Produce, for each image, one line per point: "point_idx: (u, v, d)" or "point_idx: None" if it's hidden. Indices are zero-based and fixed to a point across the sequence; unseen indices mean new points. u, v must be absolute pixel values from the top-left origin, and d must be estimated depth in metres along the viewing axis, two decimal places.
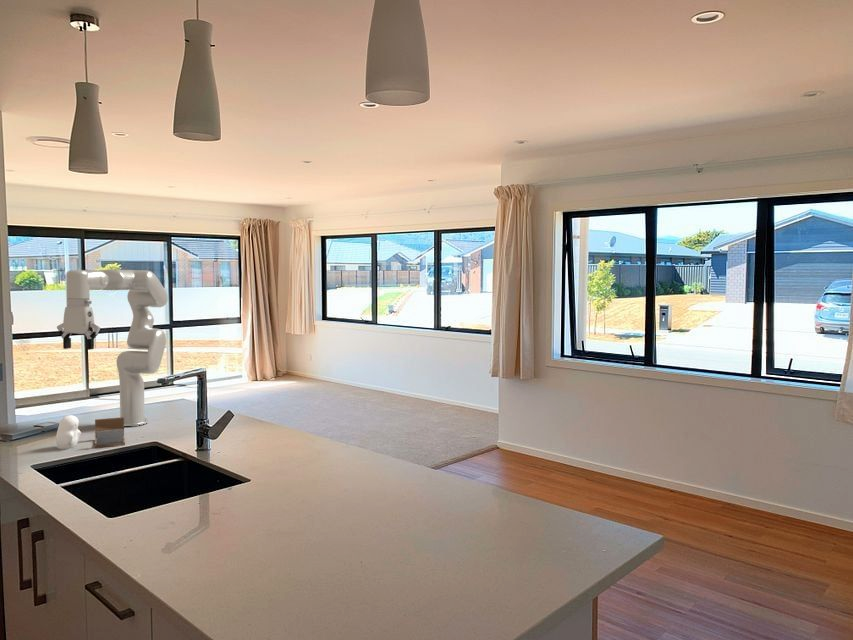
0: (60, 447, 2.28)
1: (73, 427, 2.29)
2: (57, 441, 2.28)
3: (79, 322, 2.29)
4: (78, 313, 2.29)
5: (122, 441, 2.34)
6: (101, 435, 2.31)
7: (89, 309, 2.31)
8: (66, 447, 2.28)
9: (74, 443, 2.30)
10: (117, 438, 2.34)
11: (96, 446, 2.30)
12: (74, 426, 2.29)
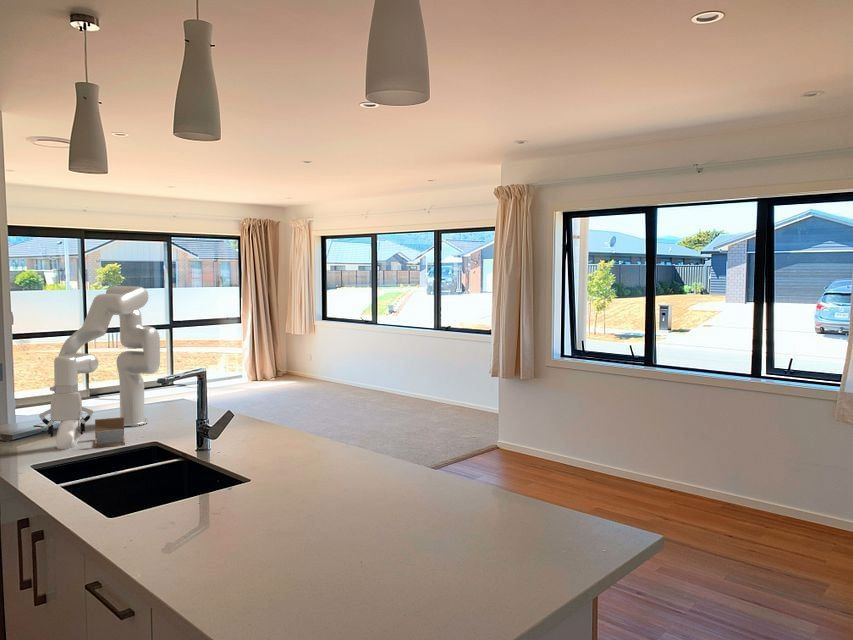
0: (60, 447, 2.28)
1: (73, 427, 2.29)
2: (57, 441, 2.28)
3: None
4: None
5: (122, 441, 2.34)
6: (101, 435, 2.31)
7: None
8: (66, 447, 2.28)
9: (74, 443, 2.30)
10: (117, 438, 2.34)
11: (96, 446, 2.30)
12: (74, 426, 2.29)
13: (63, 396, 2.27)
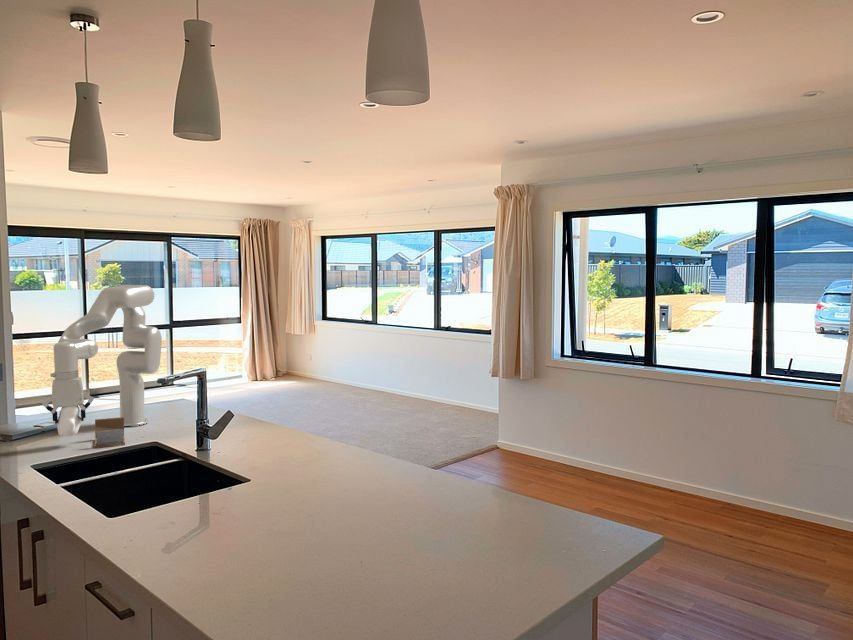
0: (62, 434, 2.29)
1: (74, 415, 2.30)
2: (58, 428, 2.29)
3: None
4: None
5: (122, 441, 2.34)
6: (101, 435, 2.31)
7: None
8: (68, 434, 2.29)
9: (75, 430, 2.31)
10: (117, 438, 2.34)
11: (96, 446, 2.30)
12: (75, 413, 2.30)
13: (64, 382, 2.27)
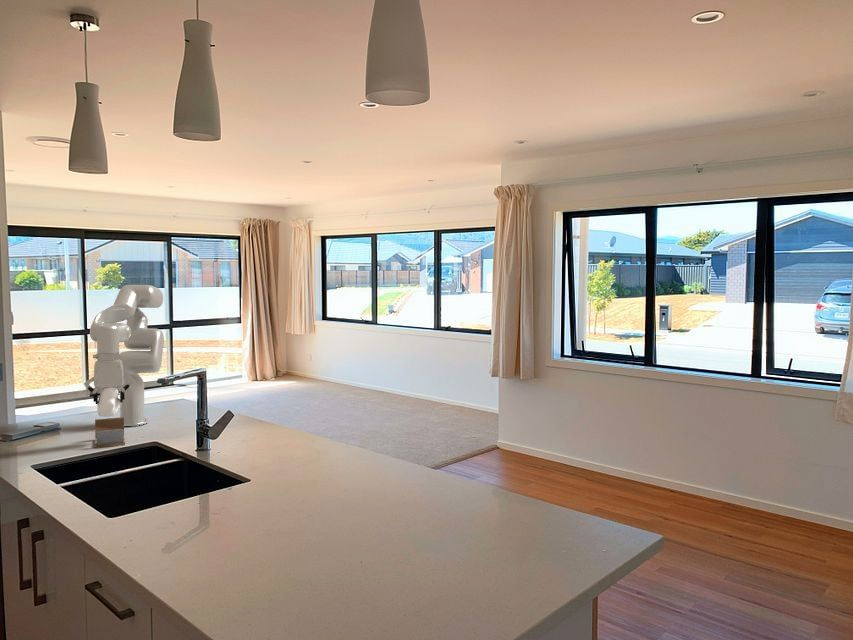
0: (101, 414, 2.34)
1: (114, 395, 2.35)
2: (98, 409, 2.35)
3: None
4: None
5: (122, 441, 2.34)
6: (101, 435, 2.31)
7: None
8: (107, 415, 2.35)
9: (115, 411, 2.37)
10: (117, 438, 2.34)
11: (96, 446, 2.30)
12: (115, 394, 2.36)
13: (106, 363, 2.33)
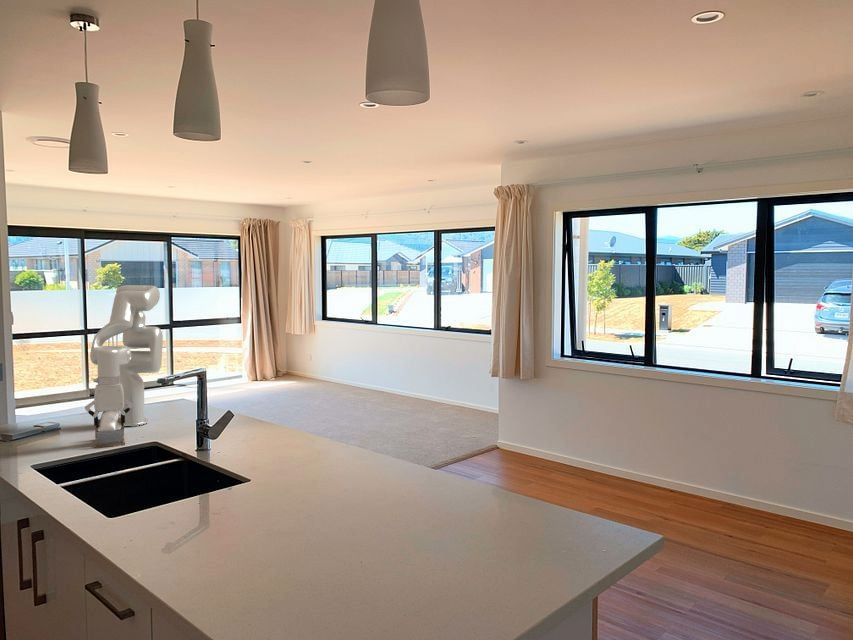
0: None
1: (114, 419, 2.36)
2: None
3: None
4: None
5: (122, 441, 2.34)
6: (101, 435, 2.31)
7: (95, 387, 2.35)
8: None
9: None
10: (117, 438, 2.34)
11: (96, 446, 2.30)
12: (115, 418, 2.37)
13: (106, 387, 2.34)
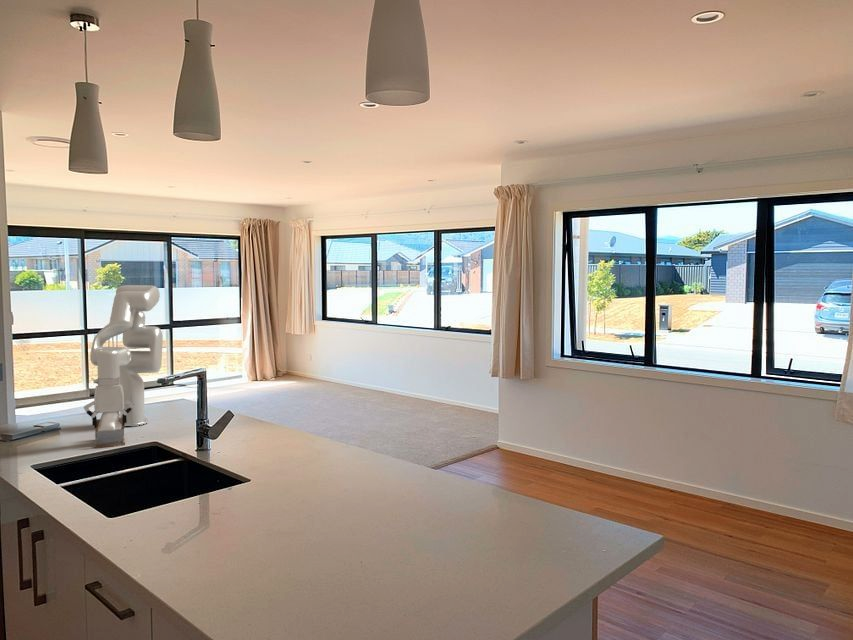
0: None
1: (114, 419, 2.37)
2: None
3: None
4: None
5: (122, 441, 2.34)
6: (101, 435, 2.31)
7: (95, 388, 2.35)
8: None
9: None
10: (117, 438, 2.34)
11: (96, 446, 2.30)
12: (115, 417, 2.37)
13: (106, 388, 2.34)
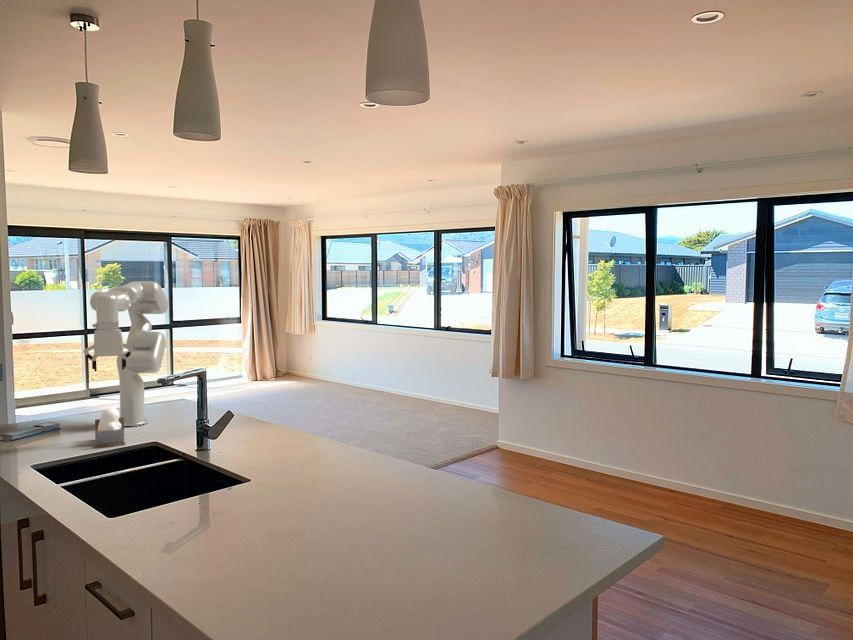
0: None
1: (114, 419, 2.37)
2: None
3: None
4: None
5: (122, 441, 2.34)
6: (101, 435, 2.31)
7: None
8: None
9: None
10: (117, 438, 2.34)
11: (96, 446, 2.30)
12: (115, 418, 2.37)
13: (105, 332, 2.37)
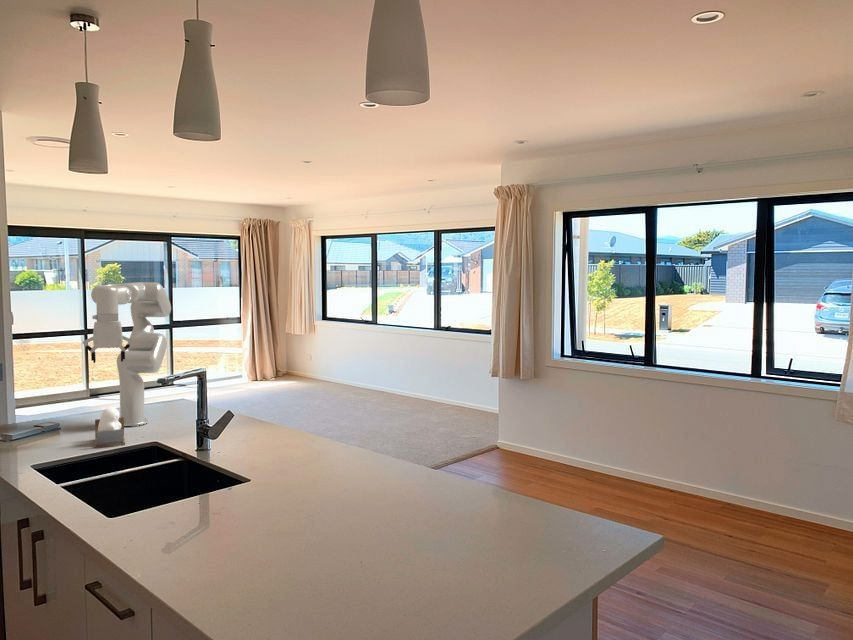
0: None
1: (114, 419, 2.37)
2: None
3: None
4: None
5: (122, 441, 2.34)
6: (101, 435, 2.31)
7: (94, 324, 2.39)
8: None
9: None
10: (117, 438, 2.34)
11: (96, 446, 2.30)
12: (115, 418, 2.37)
13: (105, 324, 2.39)
